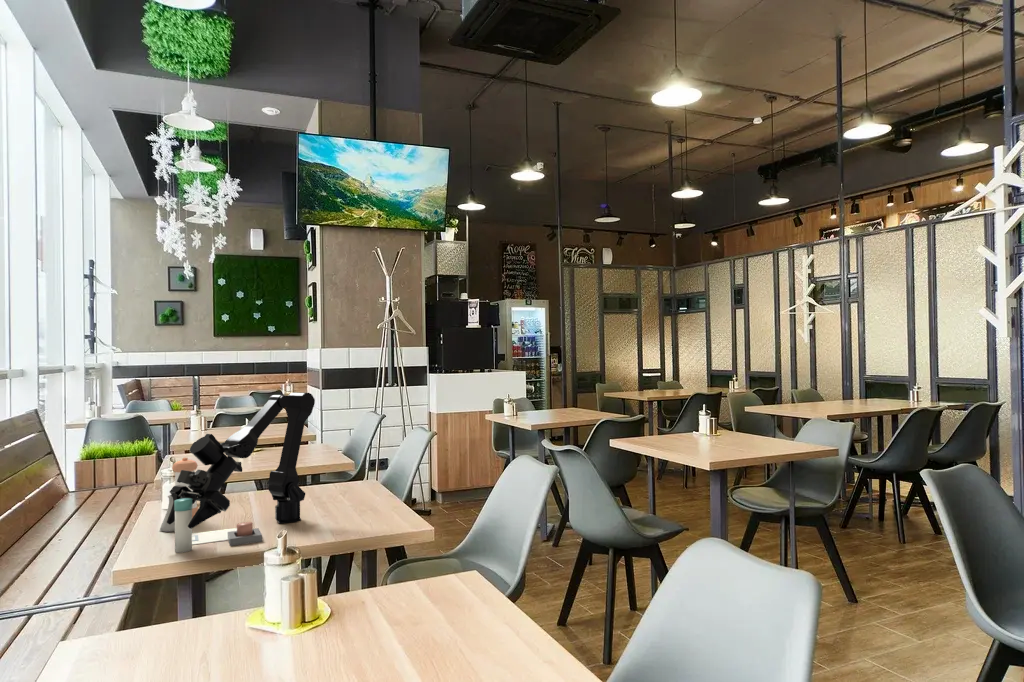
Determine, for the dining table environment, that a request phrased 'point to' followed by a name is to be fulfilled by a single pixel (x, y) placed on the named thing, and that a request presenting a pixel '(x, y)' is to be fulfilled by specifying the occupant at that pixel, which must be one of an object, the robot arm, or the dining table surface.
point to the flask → (165, 525)
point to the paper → (211, 536)
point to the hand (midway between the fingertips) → (178, 525)
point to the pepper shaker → (188, 466)
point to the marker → (183, 524)
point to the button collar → (244, 537)
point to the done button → (244, 529)
